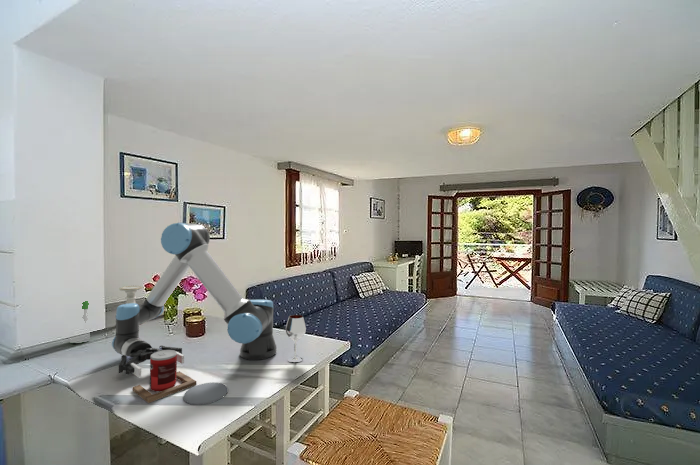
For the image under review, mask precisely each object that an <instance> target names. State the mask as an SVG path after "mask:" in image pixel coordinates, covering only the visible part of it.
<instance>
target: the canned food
mask: <svg viewBox="0 0 700 465" xmlns="http://www.w3.org/2000/svg"><path fill="white" fill-rule="evenodd" d="M177 366H178V361H177V352H176V351H174V350H162V351H158V352H155V353H153V354H152V355H151V357H150V360H149V388H150V390H151V391H152V392H156V393H158V392H161V391H164V390H166V389H169V388H172V387H174V386H176V384H177V378H176V373H177V372H178V371H177V369H178V368H177Z"/></svg>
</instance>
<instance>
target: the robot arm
mask: <svg viewBox="0 0 700 465" xmlns="http://www.w3.org/2000/svg"><path fill="white" fill-rule="evenodd" d="M210 240H211V239H210V233H209V230H208V229H207V228H206V227H205V226H204V225H201V224H200V223H192V222H191V223H189V222H188V223H187V222H175V223H171V224H169V225H167V226H166V227H165V228H164V229H163V230H162V233H161V236H160V244H161V247H162V248H163V250H164V251H165V252H166V253H168V254H171V255H174V257H173V258H172V260H171V261H170V263H169V265H168V266H167V267H166V269H165V270H164V272H163V273H162V275H161V276H160V277H159V279H158V281H157V282H156V284H154V286H153V288H152V289H151V291H150V292H149V294H148V295H147V297H146V298H145V299H144V301H143V302H142V304H138V303H137V302H136V303H128V304H126V303H125V304H124V303H122V304H120V305H118V306H117V307H116V312H115V313H116V315H115V335H114V337H113V339H112V341H111V347H112V348H113V350H114V351H115V352H116V353H117V354H119V355H121V356H120V361H119V363H118V370H117V371H118V372H117V373H118V374H122V373H123V372H125V375H129V374H132V375H134V376H136V377H137V378H141V377H142V367H141V366H138V365H139V364H141V363H144V362H145V361H148V360H149V361H150V357H151V355H152V354H153V353H155V352H158V351H162V350H174V351H176V352H177V363H178V362H179V364H185V354H183V348H182V347H173V346H165V345H159V348H155V347H153V346H151V343H148V342H147V341H145V340H143V339H141V338H140V337H139V332H140V325H142V324H143V323H146V322H149V321H151V320H154V319H156V318H158V317H159V316H161V315H162V314H163V313H164V312H165V310H164V304H165V303H166V301H167V300H168V298H169V297H170V295H171V294H172V293H173V291H174V290H175V288H176V289H177V286H178V285H179V284H180V283H181V281H182V280H183V278H184V277H185V276H186V274H187V273H188V271H189V270H190V269H191V270H192V272H193V273H194V275H196V277H197V278H198V280H199V281H200V283H201V284H202V285H203V286H204V288H205V290H207V292H208V293H209V295H210V296H211V297H212V298H213V300H214V301H215V303H216V304H217V305H218V307H219V308H220V309H221V310H222V312H223V313H224V315H223V320H224V322H225V323H226V324H227V334H228V336H229V337H230V339H231V340H233V342H236V343H238V344H241V346H240V349H239V356H240V357H241V358H242V359H245V360H250V361H257V360H259V361H261V360H265V358H266V359H268V357H269V358H271V356H272V357H273V355H274V354H275V353H276V354H277V344H276V341H275V338H274V335H273V334H274V332H273V331H274V329H273V328H274V301H272V300H270V299H247V298H243V296H242V294H240V292H239V291H238V289H237V288H236V287H235V285H234V284H233V283H232V281H231V280H230V279H229V277H228V276H227V275H226V273H225V272H224V270H222V268H221V267H220V265H219V264H218V263H217V261H216V260H215V259H214V258H213V256H212V254H211V253H210V252H209V251H208V249H209V243H210ZM139 324H140V325H139ZM276 354H275V355H276ZM275 355H274V356H275Z"/></svg>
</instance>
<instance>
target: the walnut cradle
mask: <svg viewBox="0 0 700 465" xmlns="http://www.w3.org/2000/svg"><path fill="white" fill-rule="evenodd" d="M176 380H178V381H180V382H182V383H180V384H178V385H175V386H174V387H172V388H169V389H166V390H164V391H159V392H155V393H153V394H152V393H151V392H150V391H149V390H147V389H146V388H145V387H143V386H142V385H140V384H138V385H134V386H132V392H134V394H136V395H137V396H138V397H139V398H141V399H142V400H144V401H145V402H146V403H148V404H150V403H153V402H154V401H158V400H160V399H163V398H166V397H168V396H171V395H173V394H176V393H178V392H182V391H184V390H186V389H187V390H188V389H190V388H192V387H194V386H197V381H198V380H195V379H193V378H192V377H190V376H188V375H187V374H185V373H183V372H181V371H177V373H176Z"/></svg>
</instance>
